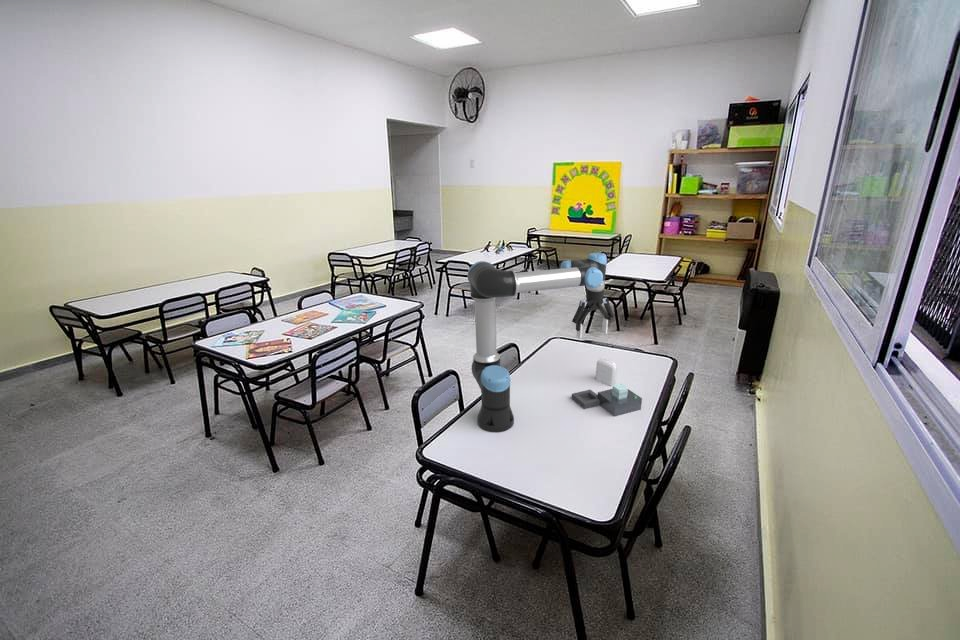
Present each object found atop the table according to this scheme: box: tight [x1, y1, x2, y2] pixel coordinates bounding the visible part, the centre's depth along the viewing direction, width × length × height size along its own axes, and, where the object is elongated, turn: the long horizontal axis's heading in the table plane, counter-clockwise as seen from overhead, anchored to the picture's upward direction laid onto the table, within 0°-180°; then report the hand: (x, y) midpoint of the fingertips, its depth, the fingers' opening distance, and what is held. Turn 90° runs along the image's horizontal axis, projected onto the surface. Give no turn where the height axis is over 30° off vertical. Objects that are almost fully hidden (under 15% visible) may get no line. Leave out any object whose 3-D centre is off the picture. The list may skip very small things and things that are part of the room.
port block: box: [597, 388, 643, 418], centre depth 190 cm, size 14×12×6 cm
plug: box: [611, 383, 629, 400], centre depth 190 cm, size 5×5×9 cm
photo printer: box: [595, 357, 618, 388], centre depth 211 cm, size 10×4×12 cm, turn 39°
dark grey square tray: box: [571, 389, 601, 410], centre depth 195 cm, size 10×10×3 cm
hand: (591, 335), depth 195 cm, fingers open, 13 cm apart
